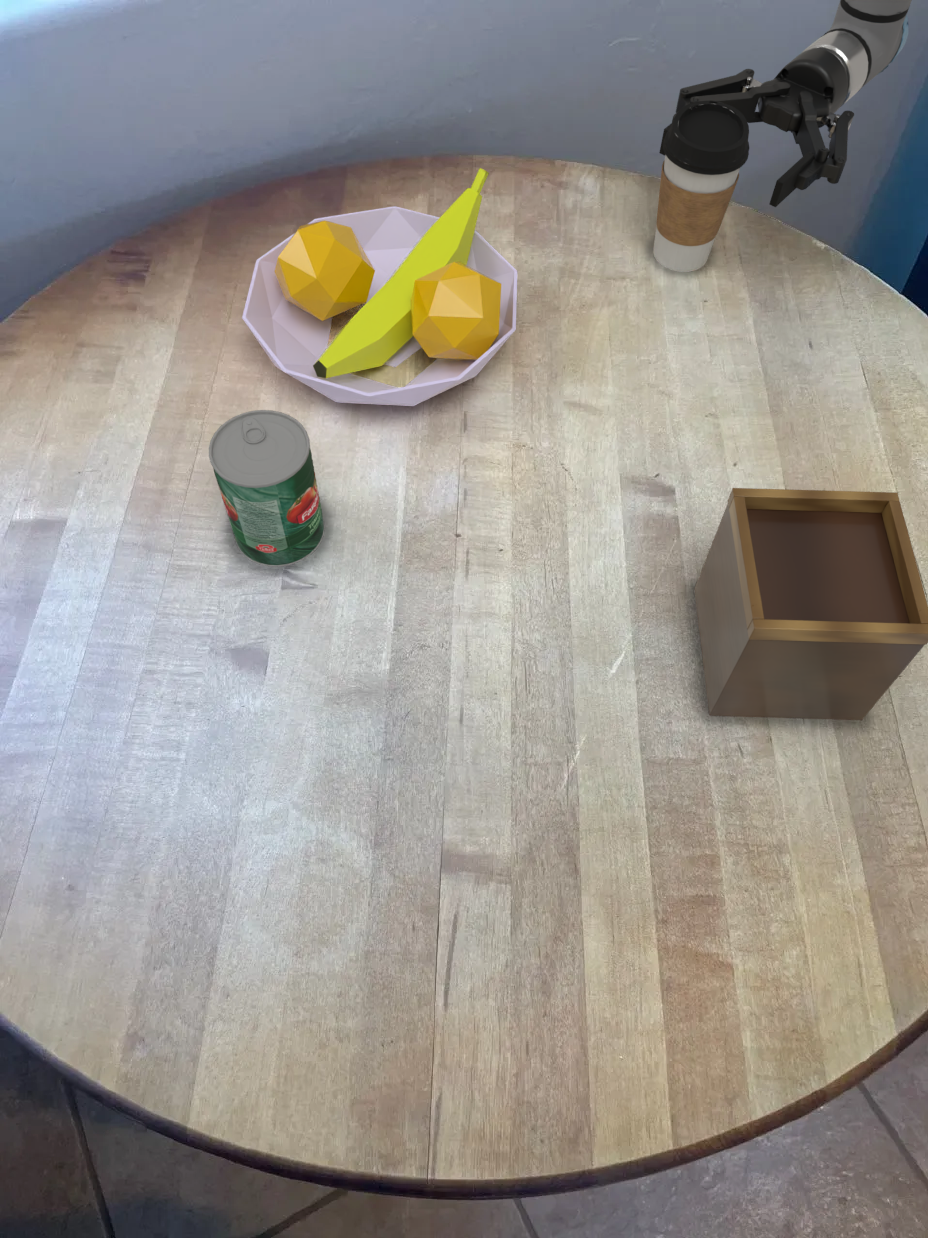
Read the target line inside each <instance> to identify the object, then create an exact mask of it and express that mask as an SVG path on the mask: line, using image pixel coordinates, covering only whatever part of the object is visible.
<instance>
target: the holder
mask: <svg viewBox="0 0 928 1238" xmlns="http://www.w3.org/2000/svg"><path fill="white" fill-rule="evenodd" d="M693 591H694V600H695V610H696V616H697V617H696V618H697V623H698V624H697V625H698V634H699V640H700V649H701V650H700V651H701V657H702V666H703V674H704V684H705V691H706V699H707V708H708V715H709V716H710V717H734V718H735V717H736V718H737V717H738V718H767V719H768V718H769V719H802V720H803V719H804V720H805V719H807V720H833V721H834V720H837V721H839V720H840V721H863V720H864V718H865V717H866V716H867V715H868V714H869V712H870V711H872V709H873V708H874V707H875V706H876V704H877V703H878V702H879V700H880V699H881V698H882V697H883V696H884V694H886V693H887V691H889V689H890V687H891V686H892V685H893V684H894V683H895V681H896V680H897V679H898V678H899V677H900V675H901V674H902V673H903V672H904V670H905V669H906V668H907V667H908V666H909V664H910V663H911V662H912V661H913V660H914V659H915V657H916V656H917V655H918V653H919V652H921V650H922V649H923V648H924V647H925V646H926V645H928V600H927V597H926V593H925V589H924V585H923V582H922V578H921V575H920V571H919V567H918V564H917V559H916V556H915V552H914V548H913V545H912V542H911V537H910V534H909V530H908V527H907V523H906V518H905V515H904V512H903V509H902V505H901V502H900V496H899V493H898V492H889V491H888V492H887V491H886V492H885V491H857V490H856V491H854V490H824V489H823V490H822V489H821V490H818V489H817V490H816V489H785V488H784V489H782V488H751V487H750V488H749V487H748V488H747V487H732V488H731V491H730V494H729V496H728V498H727V504H726V507H725V509H724V512H723V514H722V517H721V520H720V522H719V525H718V527H717V530H716V532H715V535H714V537H713V540H712V542H711V545H710V548H709V550H708V553H707V556H706V558H705V561H704V563H703V566H702V568H701V571H700V573H699V576H698V578H697V581H696V583H695V586H694V588H693Z"/></svg>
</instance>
